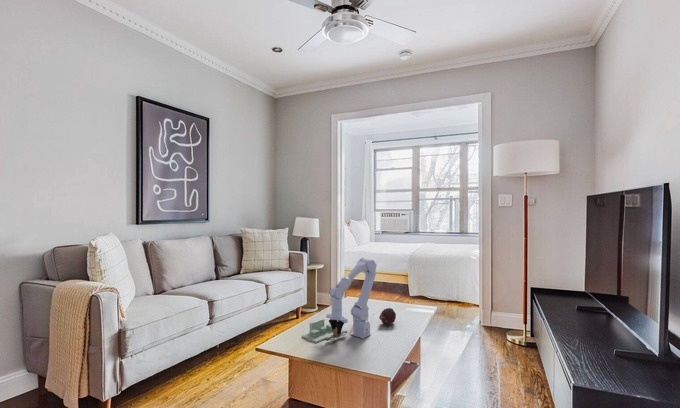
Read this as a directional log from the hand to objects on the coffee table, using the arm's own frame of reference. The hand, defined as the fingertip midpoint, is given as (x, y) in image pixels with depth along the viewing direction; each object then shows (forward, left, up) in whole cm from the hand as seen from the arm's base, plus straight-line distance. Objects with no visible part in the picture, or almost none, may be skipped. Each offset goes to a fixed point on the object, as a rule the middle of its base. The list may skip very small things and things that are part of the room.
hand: (336, 333), depth 198 cm
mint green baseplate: (+11, 0, -4) cm, 12 cm away
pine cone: (-6, -41, -4) cm, 42 cm away
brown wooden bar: (0, 0, -2) cm, 2 cm away
